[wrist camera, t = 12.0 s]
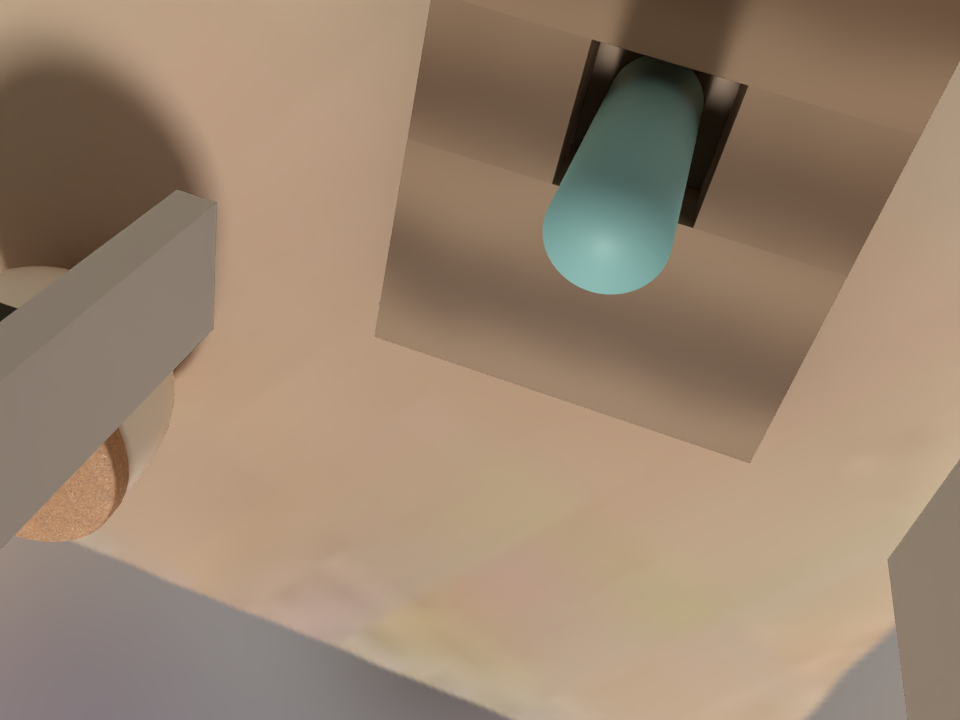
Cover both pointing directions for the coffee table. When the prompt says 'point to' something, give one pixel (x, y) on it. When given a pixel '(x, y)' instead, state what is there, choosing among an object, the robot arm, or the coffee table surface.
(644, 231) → the peg
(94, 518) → the lidded jar
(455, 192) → the hole block
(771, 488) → the coffee table surface
